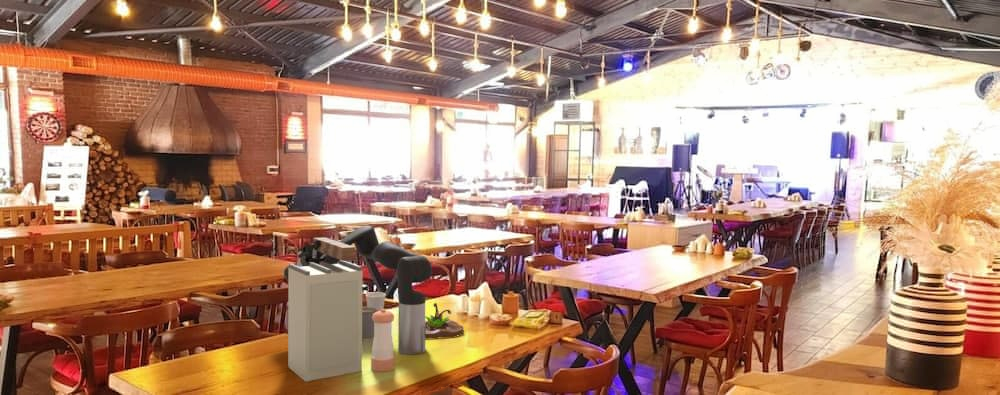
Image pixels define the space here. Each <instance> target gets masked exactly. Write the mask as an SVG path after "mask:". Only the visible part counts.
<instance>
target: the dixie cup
mask: <svg viewBox="0 0 1000 395" xmlns="http://www.w3.org/2000/svg"><path fill="white" fill-rule="evenodd" d="M386 296H387V294H386V293H385V292H378V291H375V292H368V293H366V294H365V298H366V307H375V308H377V309H378V311H381V309H385V308H384V306H385V300H386Z"/></svg>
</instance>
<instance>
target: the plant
mask: <svg viewBox="0 0 1000 395" xmlns="http://www.w3.org/2000/svg"><path fill="white" fill-rule="evenodd" d="M432 305H433V307H434V308H435V312H434V315H432V314H430V316H426V315H425V319H427V320H425V322H426V338H435V339H439V338H438V337H443V338H455V337H454V336H456V337H458V336H457V335H460V334H462V335H464V334H463V333H464V330H465V329H464V326H463V325H461V324H460V323H458V322H457V321H455V320H451V319H450V317H451V316H450V315H452V311H451V310H450V309H444V310H442V311H441V312H440V311H439V308H438V303H436V302H434V303H433V304H432ZM446 312H447V313H448V315H449V316H445V317H444V316H443V314H444V313H446ZM460 336H461V335H460Z"/></svg>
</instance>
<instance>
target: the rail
mask: <svg viewBox="0 0 1000 395" xmlns="http://www.w3.org/2000/svg"><path fill="white" fill-rule="evenodd" d="M318 239H320V243H321V245H320V247H319V248H318V249H316V251H318V252H321V253H323V254H326V255H329V256H331V257H334V258H337V259H339V260H342V261H347V262H349V261H356V247H355V246H353V245H351V246H350V245H347V244H344V243H341V242H339V241H337V240H335V239H333V238H329V237H328V238H327V237H325V236H324V237H313V238H312V240H313V241H312V244H313V243H314V242H315V241H317V240H318ZM332 239H333V240H332Z"/></svg>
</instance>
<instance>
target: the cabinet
mask: <svg viewBox="0 0 1000 395" xmlns="http://www.w3.org/2000/svg"><path fill="white" fill-rule="evenodd" d="M288 266H289V268H288V281H287V282H288V297H287V298H288V299H287V300H288V301H287V302H288V304H287V306H288V308H287V309H288V310H287V312H288V329H287V331H288V334H287V336H288V338H287V339H288V340H287V342H288V343H287V349H288V351H287V352H288V353H287V356H288V358H287V359H288V360H287V361H288V362H287V363H288V364H287V366H288V368H289V370H291V371H292V372H294V374H296V375H297V376H299V377H300V378H301V379H302V380H303V381H304V383H305V382H310V381H315V380H320V379H326V378H332V377H337V376H341V375H342V376H343V375H348V374H352V373H354V374H355V373H358V372H362V371H363V370H362V369H363V368H362V366H363V362H362V361H363V359H362V358H363V356H362V354H363V339H362V307H363V273H364V272H363V267H362V265H358V264H355V263H352V262H349V261H342V260H339V262H338V263H337V264H329V263H326V262H323V261H321V262H320V265H319V264H316V263H314V262H310V266H304V267H299V266H296V265H294V264H293V263H289V264H288Z"/></svg>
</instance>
